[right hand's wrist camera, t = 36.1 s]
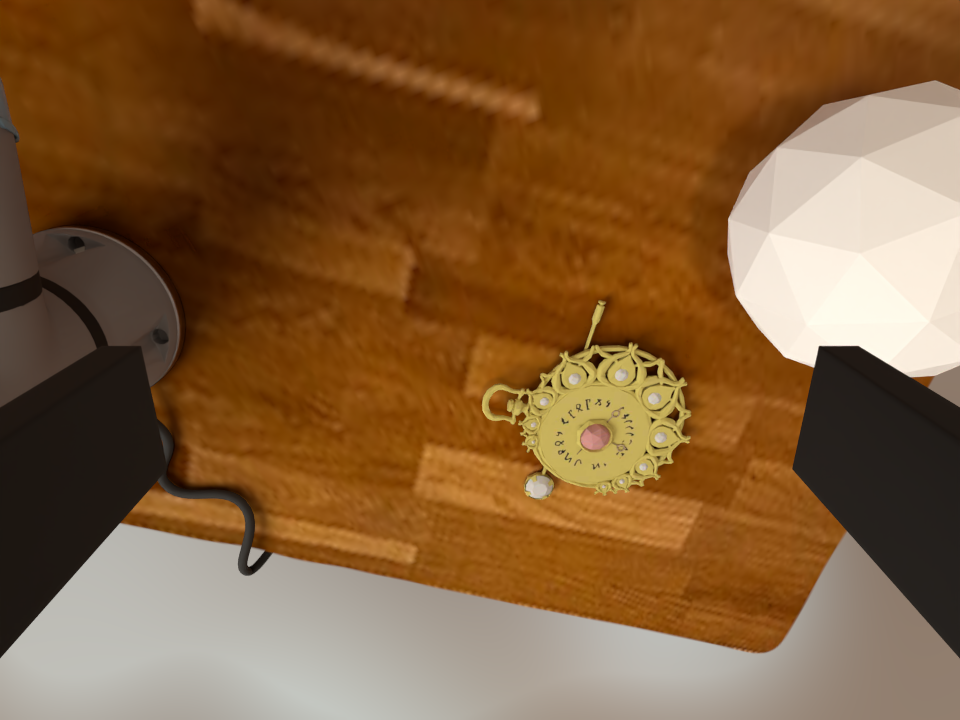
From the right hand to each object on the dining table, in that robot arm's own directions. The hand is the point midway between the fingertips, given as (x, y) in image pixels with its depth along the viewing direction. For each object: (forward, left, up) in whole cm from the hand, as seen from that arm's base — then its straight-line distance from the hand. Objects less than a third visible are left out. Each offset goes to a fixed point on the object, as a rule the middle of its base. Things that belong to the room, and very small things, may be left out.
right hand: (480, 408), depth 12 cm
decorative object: (-22, +3, -41) cm, 46 cm away
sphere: (-17, -21, -41) cm, 49 cm away
